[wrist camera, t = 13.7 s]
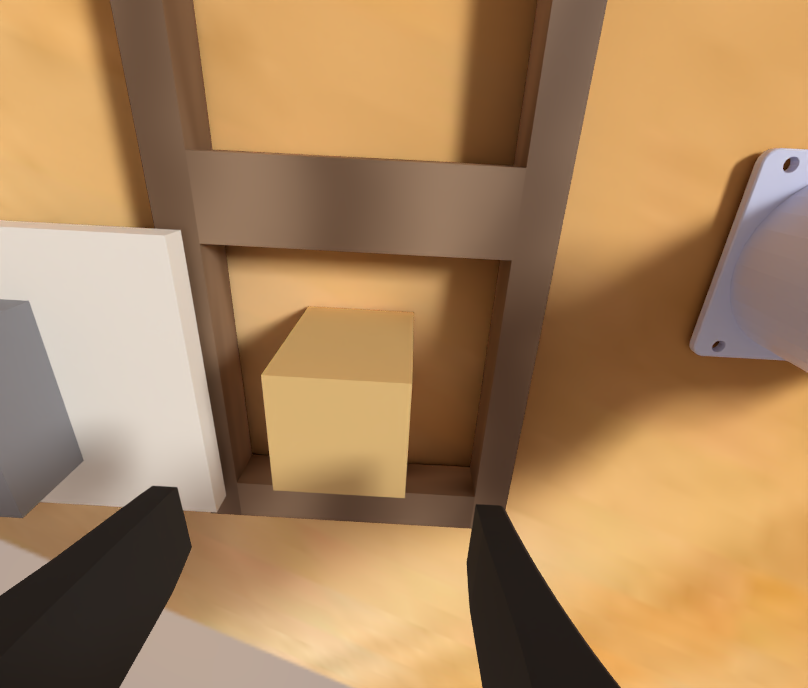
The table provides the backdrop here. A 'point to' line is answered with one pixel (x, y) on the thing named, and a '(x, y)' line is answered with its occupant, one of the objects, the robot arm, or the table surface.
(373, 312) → the ochre block
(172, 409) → the slide cover
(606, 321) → the table surface
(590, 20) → the brown flat frame
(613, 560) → the table surface
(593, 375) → the table surface
